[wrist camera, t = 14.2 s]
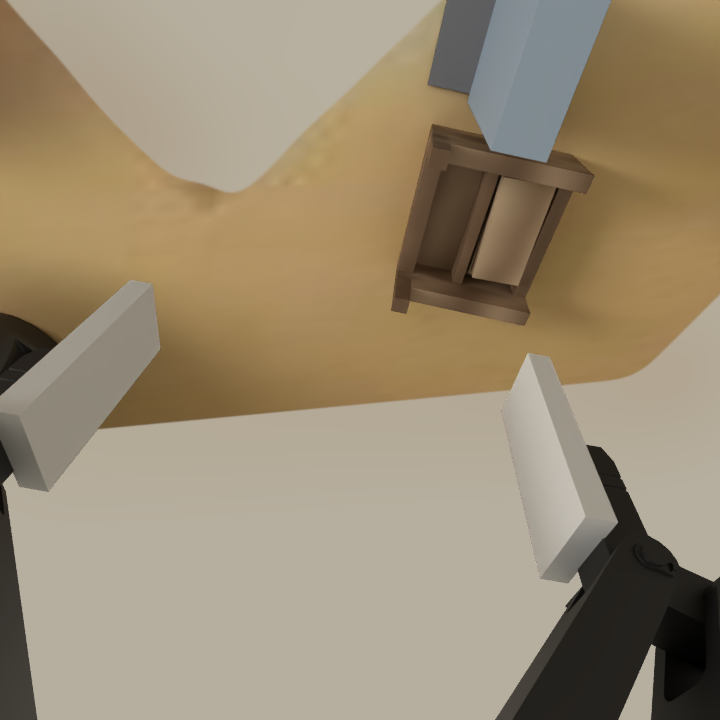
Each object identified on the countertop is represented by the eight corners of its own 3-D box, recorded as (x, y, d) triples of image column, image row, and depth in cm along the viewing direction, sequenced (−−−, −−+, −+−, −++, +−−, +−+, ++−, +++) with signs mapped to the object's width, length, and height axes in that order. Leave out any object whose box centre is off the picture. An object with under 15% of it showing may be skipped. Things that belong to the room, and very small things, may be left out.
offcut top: (470, 269, 39) (472, 277, 38) (501, 171, 34) (503, 177, 33) (515, 277, 39) (518, 286, 38) (552, 180, 34) (556, 186, 33)
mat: (427, 84, 34) (427, 84, 34) (456, -41, 30) (456, -41, 29) (547, 110, 34) (548, 111, 34) (592, -10, 30) (594, -10, 29)
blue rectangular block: (467, 102, 34) (490, 150, 21) (507, -40, 29) (568, -89, 16) (502, 109, 34) (546, 162, 21) (547, -31, 29) (640, -73, 16)
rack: (397, 266, 43) (391, 310, 36) (431, 124, 35) (432, 147, 29) (513, 291, 43) (528, 340, 36) (572, 155, 35) (604, 185, 29)
